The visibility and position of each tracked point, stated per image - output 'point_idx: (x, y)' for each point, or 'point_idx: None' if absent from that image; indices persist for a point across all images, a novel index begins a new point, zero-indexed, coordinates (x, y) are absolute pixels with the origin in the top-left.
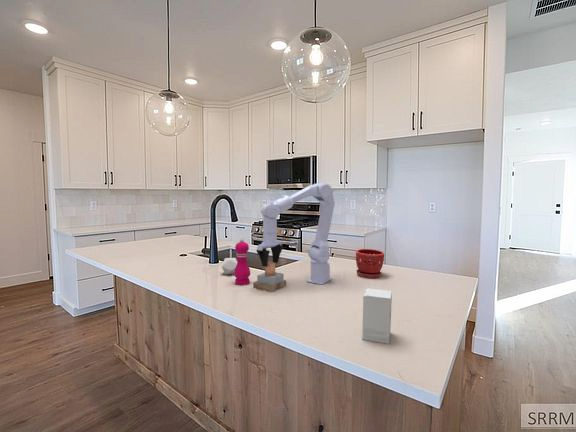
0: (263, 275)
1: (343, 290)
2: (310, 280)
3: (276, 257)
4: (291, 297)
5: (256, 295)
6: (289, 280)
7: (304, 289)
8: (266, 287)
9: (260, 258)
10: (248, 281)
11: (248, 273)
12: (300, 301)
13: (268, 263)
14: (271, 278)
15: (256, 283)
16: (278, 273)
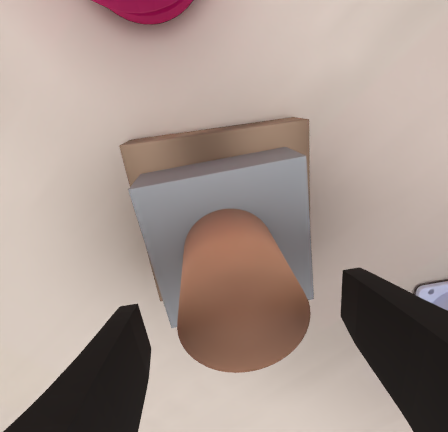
0: (168, 231)
1: (375, 429)
2: (432, 300)
3: (385, 366)
4: (178, 373)
5: (60, 258)
6: (400, 200)
7: (303, 345)
8: None
9: (43, 400)
10: (164, 16)
11: (144, 4)
12: (169, 415)
13: (212, 328)
14: (168, 314)
15: (129, 176)
16: (297, 271)
